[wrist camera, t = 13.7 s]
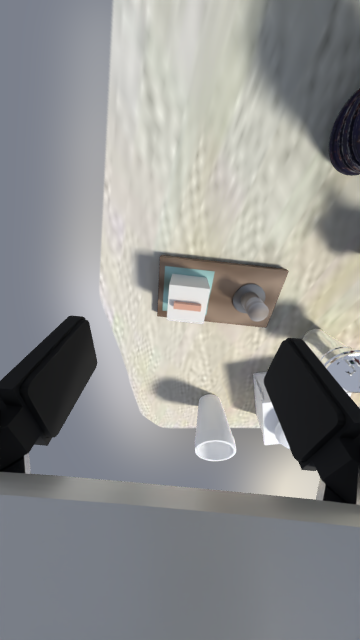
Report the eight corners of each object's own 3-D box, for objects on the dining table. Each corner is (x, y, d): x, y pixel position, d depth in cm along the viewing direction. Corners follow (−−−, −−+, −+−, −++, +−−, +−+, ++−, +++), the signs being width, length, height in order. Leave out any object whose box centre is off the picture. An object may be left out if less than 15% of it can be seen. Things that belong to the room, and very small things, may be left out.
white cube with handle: (206, 277, 34) (210, 291, 28) (201, 308, 37) (203, 326, 31) (172, 273, 34) (168, 286, 28) (169, 305, 37) (166, 322, 31)
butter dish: (318, 406, 53) (363, 473, 40) (254, 413, 56) (275, 478, 42) (326, 361, 45) (387, 427, 31) (250, 372, 48) (275, 437, 34)
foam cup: (212, 385, 50) (219, 435, 39) (232, 402, 53) (244, 452, 42) (186, 400, 54) (186, 449, 43) (207, 415, 57) (212, 464, 46)
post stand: (161, 255, 34) (154, 264, 27) (284, 268, 34) (307, 281, 28) (158, 312, 40) (152, 332, 33) (263, 324, 40) (278, 345, 34)
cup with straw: (285, 342, 42) (352, 431, 25) (317, 312, 38) (424, 393, 21) (311, 357, 44) (392, 449, 27) (345, 329, 40) (465, 417, 23)
